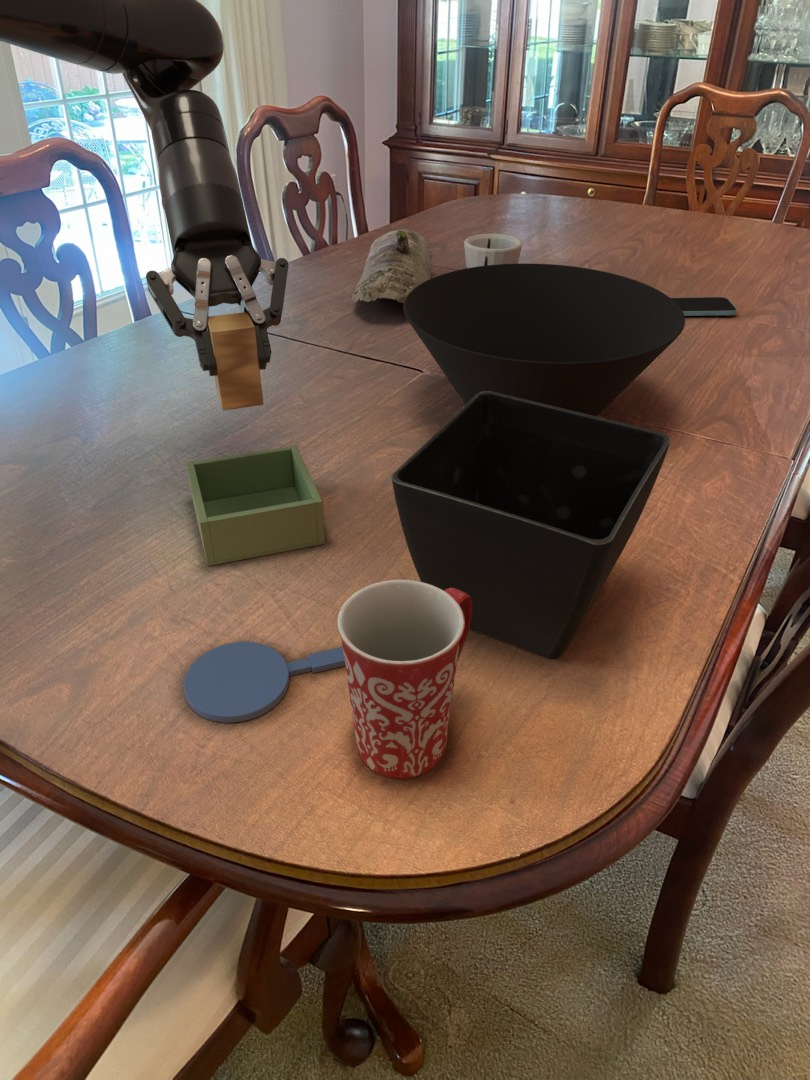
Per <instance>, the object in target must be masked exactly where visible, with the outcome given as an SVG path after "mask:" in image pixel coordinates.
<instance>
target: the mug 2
mask: <svg viewBox="0 0 810 1080" xmlns="http://www.w3.org/2000/svg"><path fill="white" fill-rule="evenodd" d="M463 247H464V257H465V265H466V268H472V267H479V266H487V265H498V264H519V261H520V256H521V252H522V247H523V241H522V240H521V239H520V238H519V237H516V236H513V235H509V234H504V233H503V234H502V233H479V234H474V235H471V236H468V237H466V238H465V239H464V242H463Z"/></svg>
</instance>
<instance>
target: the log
mask: <svg viewBox="0 0 810 1080" xmlns="http://www.w3.org/2000/svg"><path fill="white" fill-rule="evenodd" d="M432 258H433V253H432V251H431V244H430V242H429V241H428V239H427V237H425V236H422V235H421V233H419V232H417V231H414V230H411V229H406V228H405V229H403V228H402V229H396V230H390V231H389V232H387V233H385V234H382V235H380V236H379V237H377V238H375V239H374V241H373V243H371V246H370V247H369V252H368V255H367V257H366V261H365V264H364V268H363V272H362V275H361V276H360V279H359V280H358V282H357V284H356V287H355V289H354V290H353V291H352V294H351V297H352V298H351V299H352V302H353V303H355V302H358V301H360V302H362V301H363V302H365V303H370V302H372V301H373V302H375V301H376V300H378V299H389V300H394V301H397V303H402V304H404V301H405V299H406V297H407V296H408V294H409V293H410V292H411V291H412V290H413V289H414V288H415V287H417V286H418V285H420V284H421V283H423V282H425V281H427V280H429V279H431V278H432V270H433V269H432V268H433V267H432V265H433V264H432Z"/></svg>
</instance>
